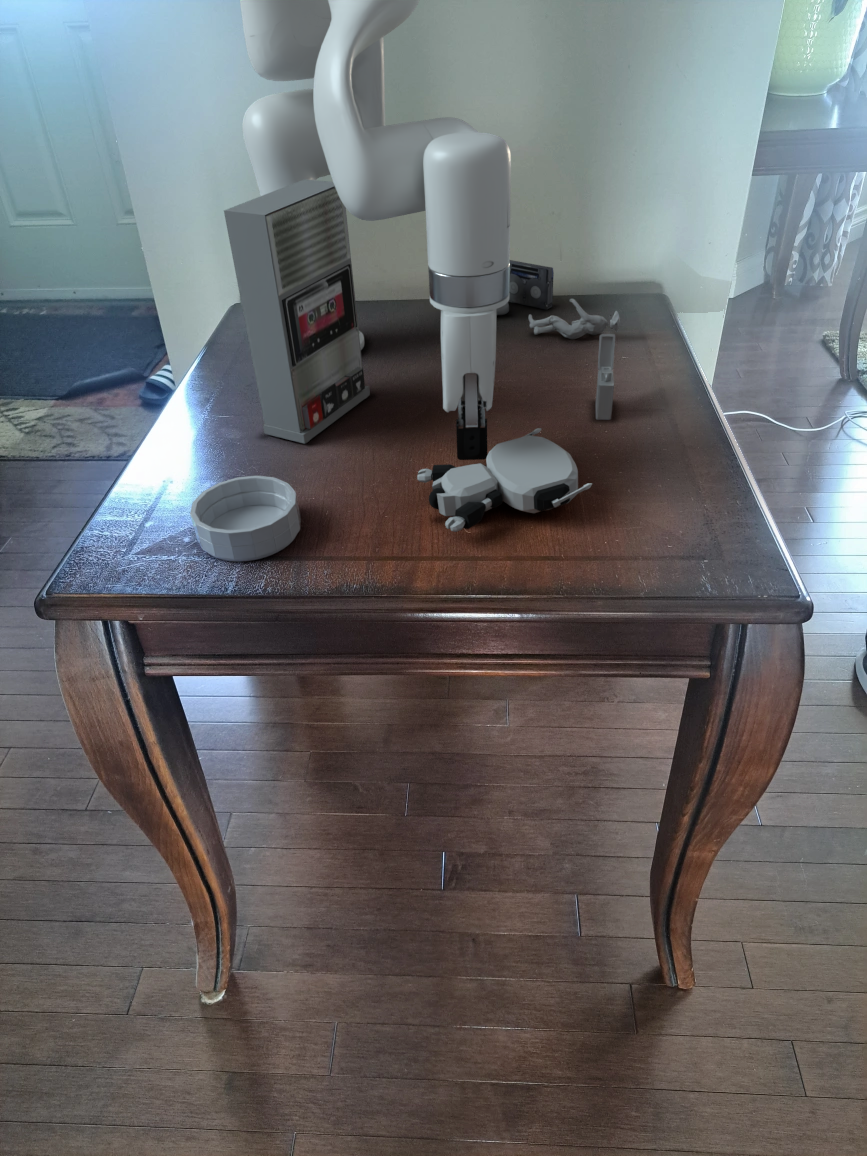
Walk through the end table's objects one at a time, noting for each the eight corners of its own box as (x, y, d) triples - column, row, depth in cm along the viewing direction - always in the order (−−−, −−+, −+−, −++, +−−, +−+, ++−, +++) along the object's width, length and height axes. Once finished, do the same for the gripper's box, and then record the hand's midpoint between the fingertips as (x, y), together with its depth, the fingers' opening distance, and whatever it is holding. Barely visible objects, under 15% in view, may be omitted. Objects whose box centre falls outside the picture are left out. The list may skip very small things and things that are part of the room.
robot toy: (452, 558, 78) (597, 516, 80) (447, 519, 75) (597, 476, 78) (415, 494, 87) (546, 457, 90) (409, 457, 84) (544, 420, 87)
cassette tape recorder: (307, 446, 95) (270, 216, 80) (265, 435, 97) (221, 210, 82) (371, 397, 104) (350, 182, 89) (332, 388, 107) (304, 178, 91)
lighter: (611, 419, 97) (617, 354, 92) (595, 419, 97) (601, 354, 92) (609, 393, 102) (615, 330, 97) (595, 392, 102) (600, 329, 97)
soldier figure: (538, 331, 121) (620, 307, 117) (543, 362, 120) (626, 339, 116) (524, 308, 114) (610, 282, 110) (529, 341, 113) (616, 315, 109)
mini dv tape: (552, 306, 126) (553, 266, 122) (546, 309, 125) (548, 269, 121) (507, 297, 130) (507, 258, 127) (502, 300, 129) (502, 260, 126)
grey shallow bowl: (177, 539, 81) (169, 509, 79) (254, 494, 87) (248, 465, 85) (245, 576, 76) (237, 545, 74) (322, 525, 82) (317, 495, 80)
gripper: (431, 259, 83) (438, 423, 95) (426, 315, 72) (435, 494, 83) (506, 257, 83) (504, 422, 94) (513, 312, 71) (510, 493, 82)
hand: (472, 455), depth 89 cm, fingers closed
